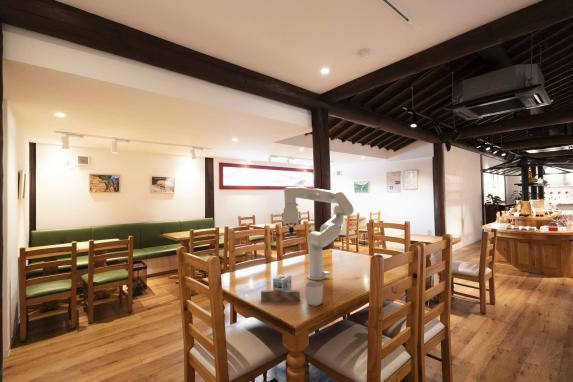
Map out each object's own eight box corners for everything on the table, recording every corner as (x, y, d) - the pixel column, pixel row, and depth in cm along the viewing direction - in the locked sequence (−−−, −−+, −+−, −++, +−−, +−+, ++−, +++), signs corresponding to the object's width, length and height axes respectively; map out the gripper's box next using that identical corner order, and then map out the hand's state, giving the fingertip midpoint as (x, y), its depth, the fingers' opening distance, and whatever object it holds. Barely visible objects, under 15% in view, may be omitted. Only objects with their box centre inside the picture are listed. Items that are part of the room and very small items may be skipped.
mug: (320, 307, 135) (319, 288, 135) (303, 305, 139) (303, 286, 139) (327, 298, 147) (326, 280, 147) (311, 296, 150) (310, 278, 150)
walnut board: (299, 299, 146) (299, 290, 147) (299, 301, 144) (299, 291, 144) (261, 299, 148) (261, 290, 148) (261, 301, 146) (260, 291, 146)
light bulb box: (283, 299, 147) (282, 280, 147) (272, 297, 150) (272, 278, 150) (292, 293, 156) (291, 274, 157) (282, 291, 160) (281, 273, 160)
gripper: (301, 205, 181) (302, 232, 181) (279, 205, 182) (280, 232, 182) (301, 205, 174) (302, 233, 174) (278, 206, 175) (279, 234, 175)
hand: (291, 233), depth 178 cm, fingers closed
